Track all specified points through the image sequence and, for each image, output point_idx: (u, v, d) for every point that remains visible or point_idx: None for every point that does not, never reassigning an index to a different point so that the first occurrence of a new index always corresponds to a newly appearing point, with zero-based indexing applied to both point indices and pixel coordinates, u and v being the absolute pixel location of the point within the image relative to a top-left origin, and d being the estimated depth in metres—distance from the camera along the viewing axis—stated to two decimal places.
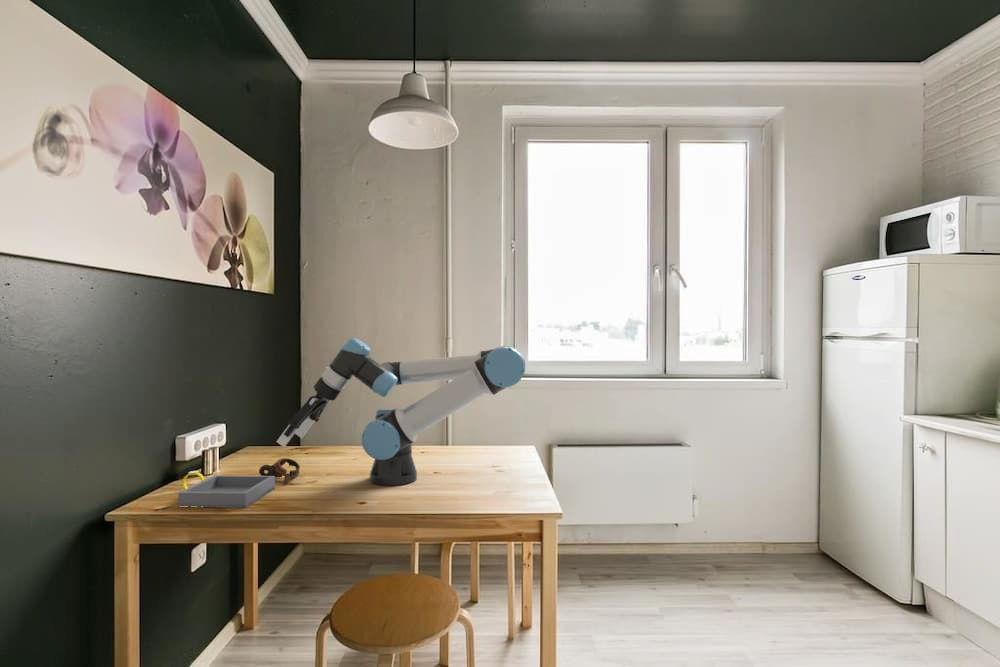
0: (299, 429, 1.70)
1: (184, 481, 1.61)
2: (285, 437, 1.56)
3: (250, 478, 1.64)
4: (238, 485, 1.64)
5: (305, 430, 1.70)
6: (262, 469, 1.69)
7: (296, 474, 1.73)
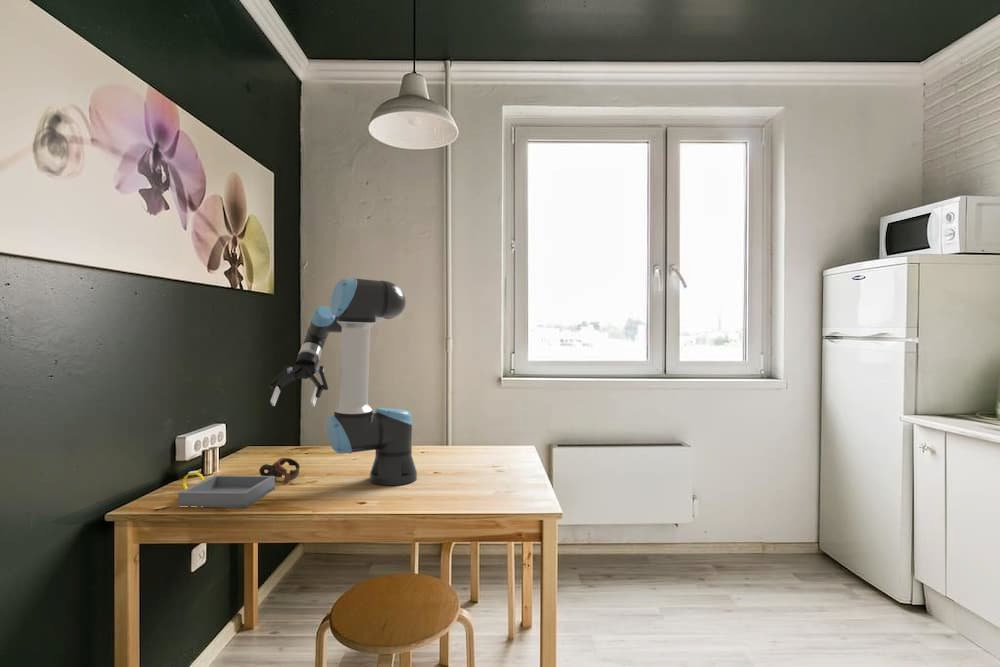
0: None
1: (184, 481, 1.61)
2: None
3: (250, 478, 1.64)
4: (238, 485, 1.64)
5: None
6: (262, 469, 1.70)
7: (296, 474, 1.73)
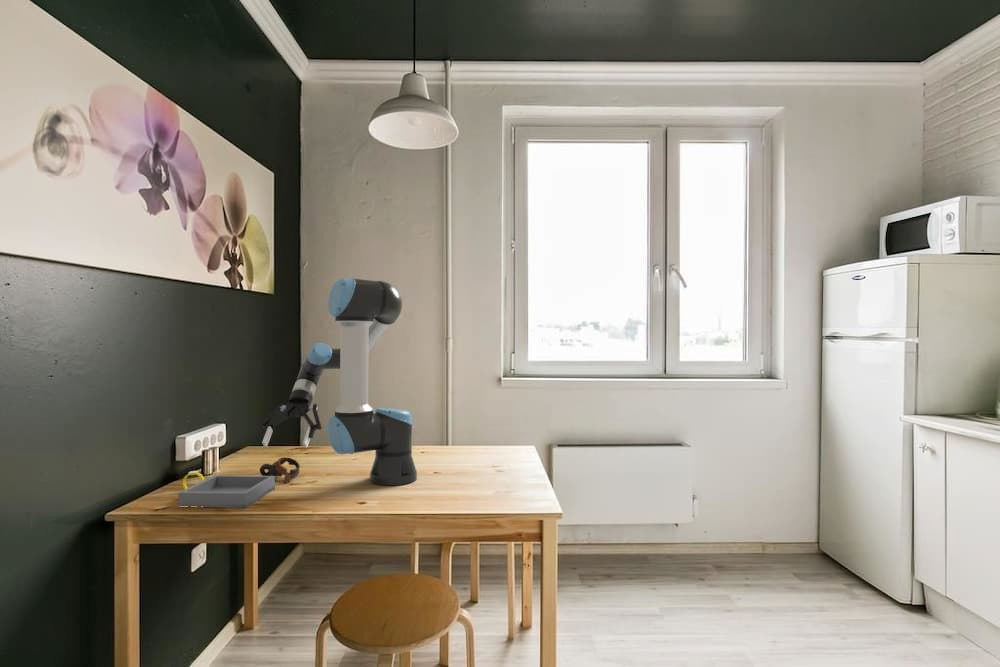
0: None
1: (184, 481, 1.61)
2: None
3: (250, 478, 1.64)
4: (238, 485, 1.64)
5: None
6: (262, 468, 1.70)
7: (296, 473, 1.74)
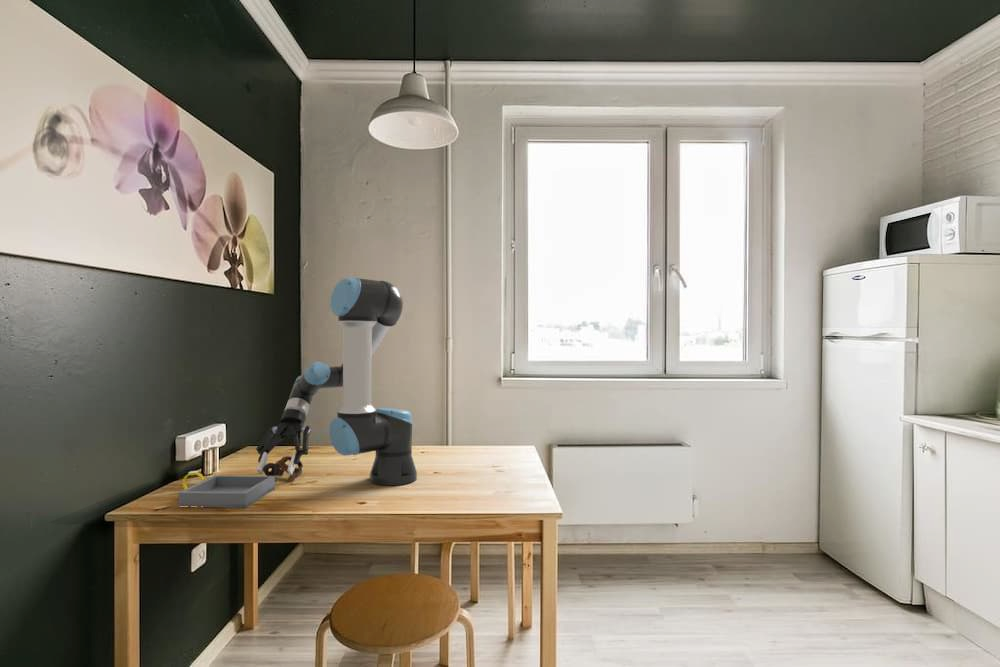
0: None
1: (184, 481, 1.61)
2: None
3: (250, 478, 1.64)
4: (238, 485, 1.64)
5: None
6: (267, 467, 1.71)
7: (300, 471, 1.76)
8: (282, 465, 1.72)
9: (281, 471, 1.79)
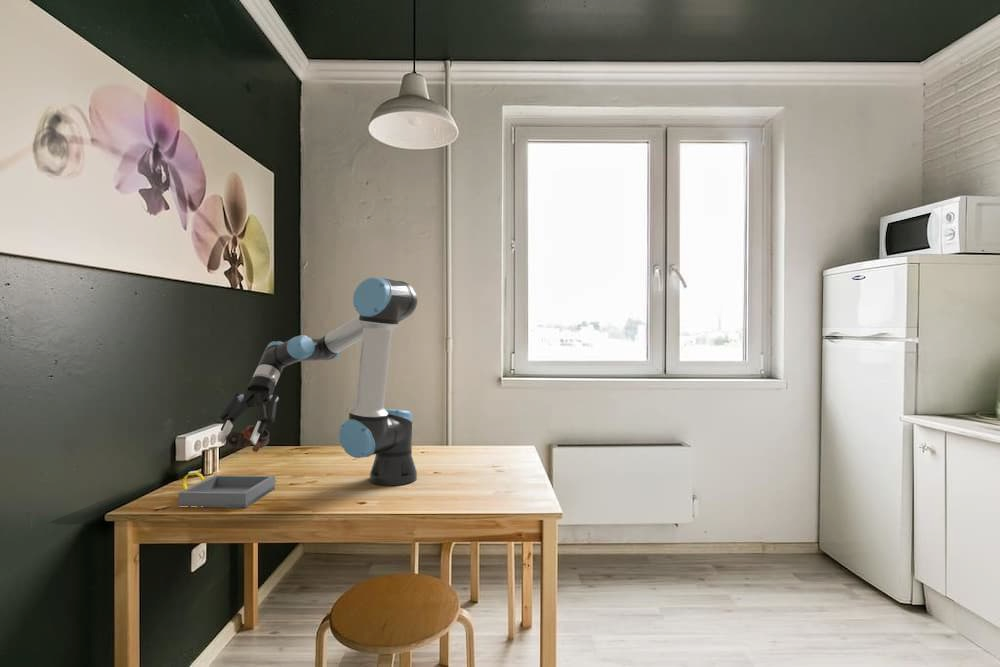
0: None
1: (184, 481, 1.61)
2: None
3: (250, 478, 1.64)
4: (238, 485, 1.64)
5: None
6: (230, 436, 1.61)
7: (266, 441, 1.65)
8: (246, 434, 1.62)
9: (248, 441, 1.69)
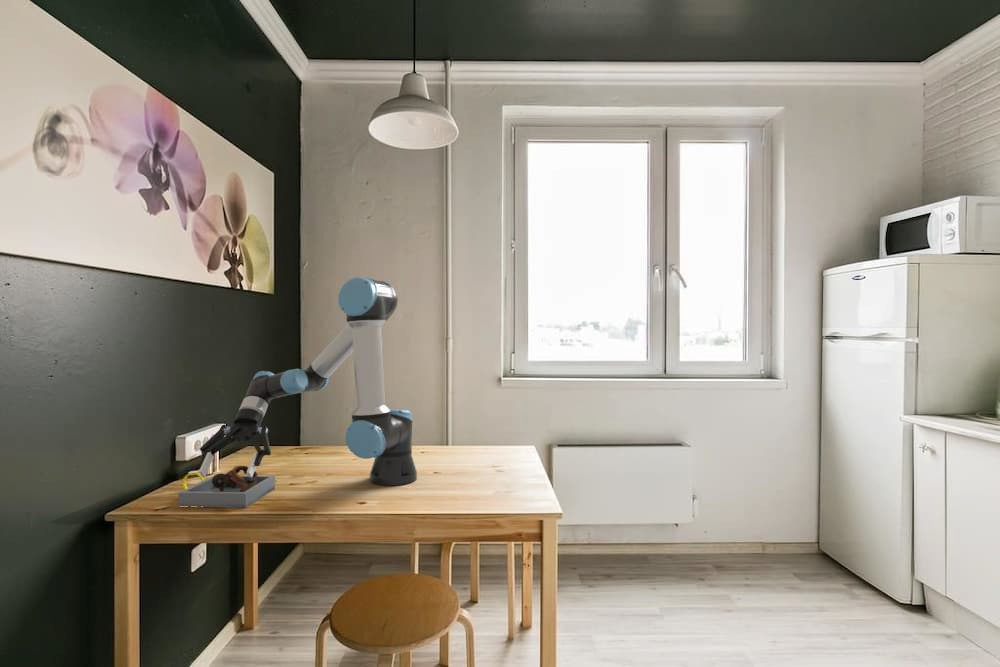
0: None
1: (184, 481, 1.61)
2: None
3: (250, 478, 1.64)
4: (238, 485, 1.64)
5: None
6: (216, 478, 1.53)
7: (254, 482, 1.58)
8: (233, 476, 1.55)
9: (234, 482, 1.62)
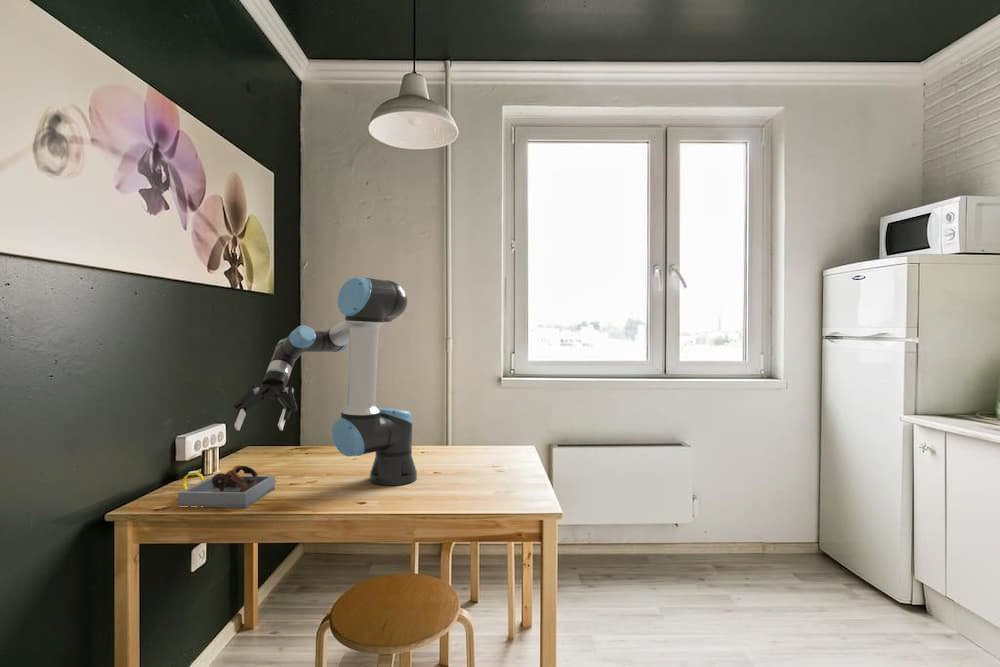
0: None
1: (184, 481, 1.61)
2: None
3: (250, 478, 1.64)
4: (238, 485, 1.64)
5: None
6: (216, 478, 1.54)
7: (254, 482, 1.59)
8: (233, 476, 1.55)
9: (234, 482, 1.62)
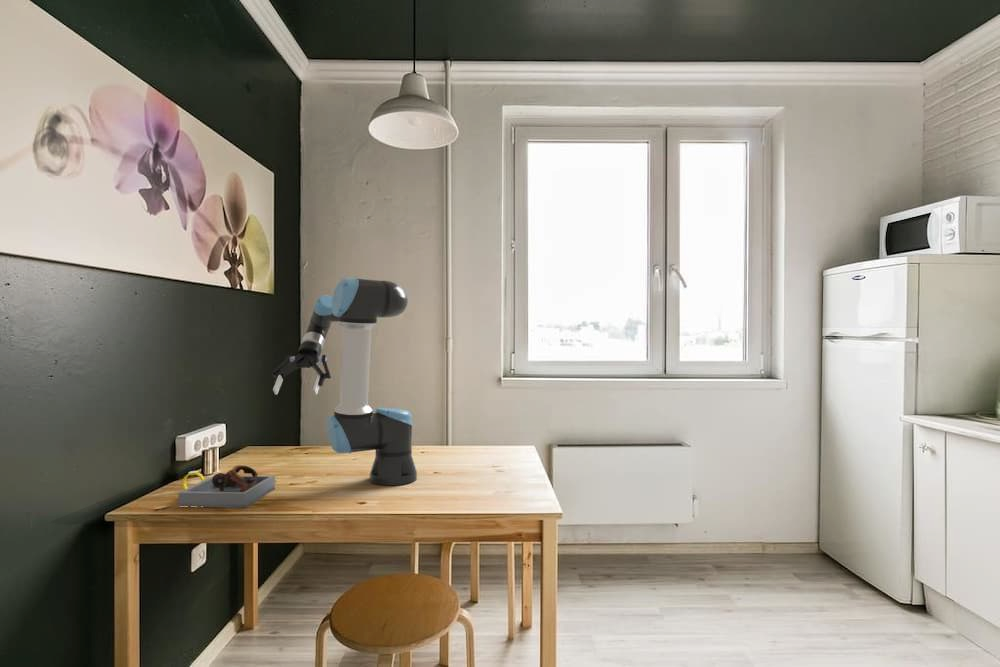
0: None
1: (184, 481, 1.61)
2: None
3: None
4: (238, 485, 1.64)
5: None
6: (216, 478, 1.54)
7: (254, 482, 1.59)
8: (233, 475, 1.55)
9: (234, 482, 1.62)
